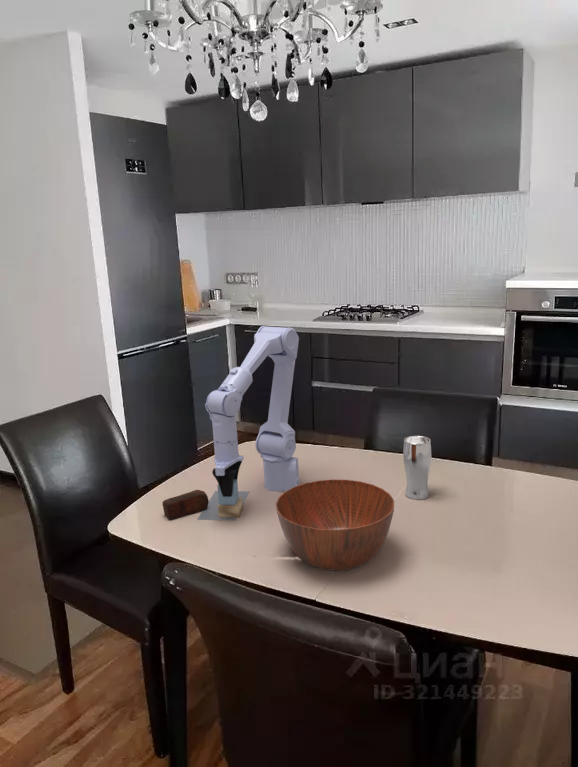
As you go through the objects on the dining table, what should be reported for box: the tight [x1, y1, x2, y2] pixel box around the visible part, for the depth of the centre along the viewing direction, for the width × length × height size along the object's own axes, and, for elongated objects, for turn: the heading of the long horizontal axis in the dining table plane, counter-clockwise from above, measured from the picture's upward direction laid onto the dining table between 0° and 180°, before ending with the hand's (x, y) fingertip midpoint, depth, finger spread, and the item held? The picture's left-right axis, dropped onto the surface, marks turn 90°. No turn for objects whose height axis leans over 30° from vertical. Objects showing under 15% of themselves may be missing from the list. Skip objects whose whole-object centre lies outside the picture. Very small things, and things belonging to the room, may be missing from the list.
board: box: [197, 490, 250, 521], centre depth 153 cm, size 10×17×1 cm, turn 172°
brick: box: [161, 489, 209, 521], centre depth 150 cm, size 11×4×5 cm, turn 122°
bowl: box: [275, 478, 395, 571], centre depth 128 cm, size 25×25×11 cm
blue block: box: [217, 478, 239, 505], centre depth 147 cm, size 4×4×5 cm
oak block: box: [218, 497, 244, 518], centre depth 148 cm, size 5×5×3 cm
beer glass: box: [402, 435, 432, 500], centre depth 154 cm, size 7×7×15 cm
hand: (229, 492), depth 147 cm, fingers closed on blue block, 4 cm apart
